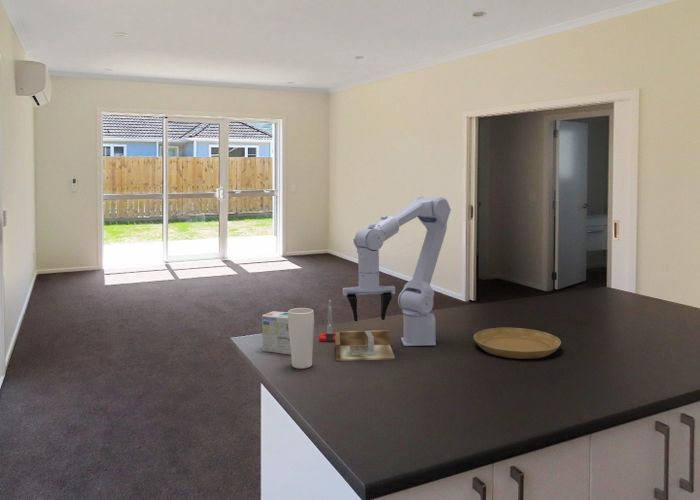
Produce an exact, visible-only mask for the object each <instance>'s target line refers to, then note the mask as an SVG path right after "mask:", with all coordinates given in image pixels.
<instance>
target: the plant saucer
mask: <svg viewBox="0 0 700 500" xmlns="http://www.w3.org/2000/svg"><path fill="white" fill-rule="evenodd" d="M473 339H474V341H475V343H476V344H477V346H478V347H480V349H482V350H483V351H484V352H486V353H488V354H491V355H494V356H497V357H503V358H506V359H507V358H508V359H515V360H516V359H519V360H520V359H521V360H523V359H524V360H527V359H528V360H530V359H531V360H532V359H541V358H546V357H548V356H550V355H551V354H553V353H555V352H556V351H557V350H558V349H559V348H560V347H561V344H562V341H561V339H560V338H559V337H558V336H555V335H553V334H551V333H549V332H545V331H541V330H537V329H531V328H521V327H495V328H494V327H493V328H486V329H482V330H479V331H477V332H475V333H474V335H473Z"/></svg>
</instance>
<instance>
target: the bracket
mask: <svg viewBox="0 0 700 500" xmlns="http://www.w3.org/2000/svg"><path fill="white" fill-rule="evenodd" d="M364 331H365V345H360V346H350V351H351V353H352V356H361V355H374V337H373V335H372V333H371V331H372V330H364Z"/></svg>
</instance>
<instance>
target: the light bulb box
mask: <svg viewBox="0 0 700 500" xmlns="http://www.w3.org/2000/svg"><path fill="white" fill-rule="evenodd" d="M261 324H262V326H261V327H262V329H261V330H262V331H261V332H262V352H270V353H274V354H275V353H276V354H283V355H290V356H291V347H290V338H289V329H288V311H287V312H285V311H276V310H273V311H270V312H267V313H265V314H262V315H261Z"/></svg>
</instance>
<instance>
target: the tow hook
mask: <svg viewBox="0 0 700 500" xmlns="http://www.w3.org/2000/svg"><path fill="white" fill-rule="evenodd" d="M332 308H333V307H332V299H328V306H327V327H326V332H323V333H320V334H318V341H319V342H326V343H336V336H335V335H336V332H335V331H333V314H332V313H333V309H332Z"/></svg>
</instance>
